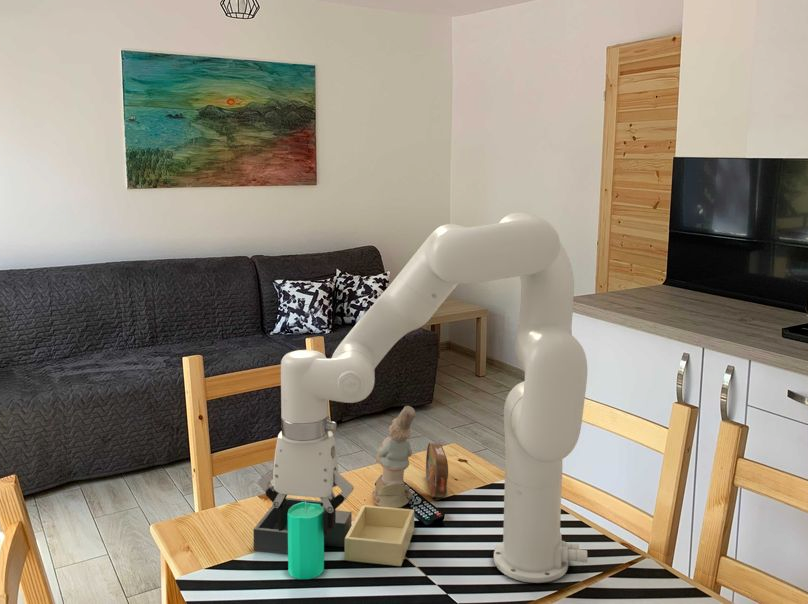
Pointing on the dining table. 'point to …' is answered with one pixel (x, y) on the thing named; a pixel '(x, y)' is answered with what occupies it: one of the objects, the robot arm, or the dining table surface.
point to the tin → (436, 470)
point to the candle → (305, 540)
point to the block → (339, 529)
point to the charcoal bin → (275, 530)
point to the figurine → (395, 463)
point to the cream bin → (380, 535)
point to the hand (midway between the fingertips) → (305, 528)
